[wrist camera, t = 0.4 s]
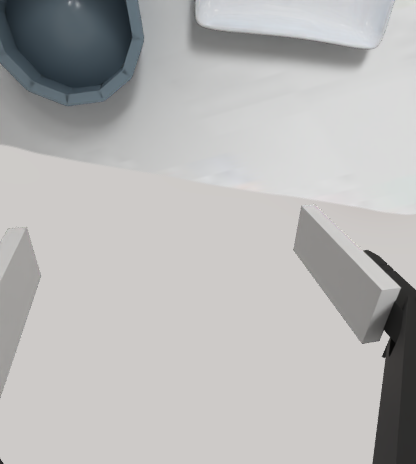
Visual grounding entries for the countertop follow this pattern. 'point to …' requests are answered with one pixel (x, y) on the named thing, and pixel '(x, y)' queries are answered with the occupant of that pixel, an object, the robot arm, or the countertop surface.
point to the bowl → (71, 46)
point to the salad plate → (301, 19)
